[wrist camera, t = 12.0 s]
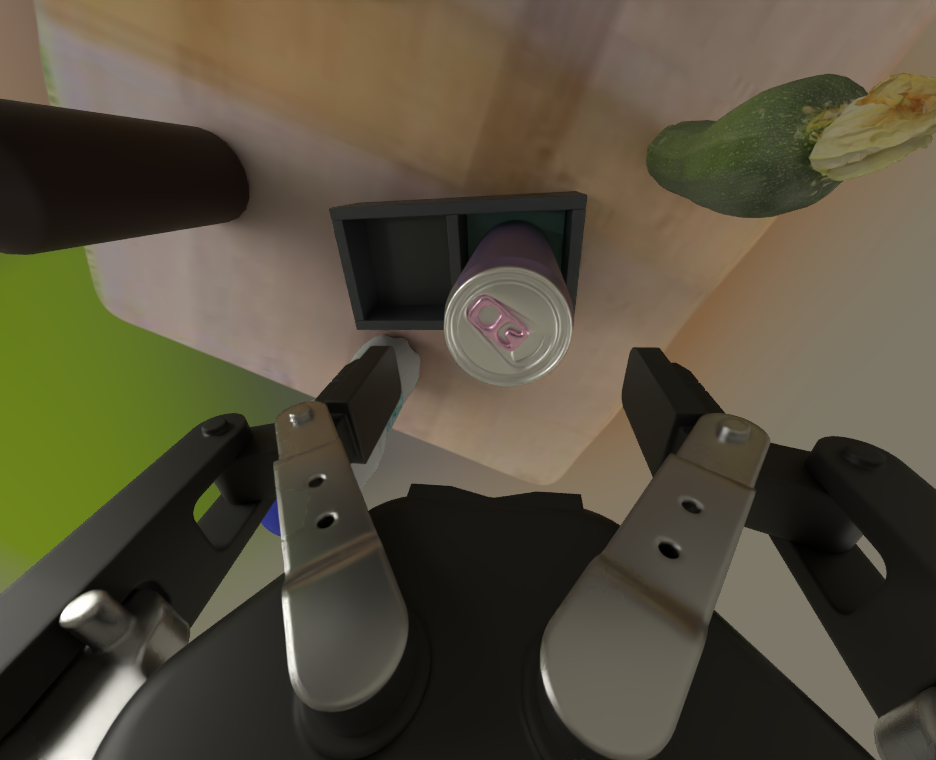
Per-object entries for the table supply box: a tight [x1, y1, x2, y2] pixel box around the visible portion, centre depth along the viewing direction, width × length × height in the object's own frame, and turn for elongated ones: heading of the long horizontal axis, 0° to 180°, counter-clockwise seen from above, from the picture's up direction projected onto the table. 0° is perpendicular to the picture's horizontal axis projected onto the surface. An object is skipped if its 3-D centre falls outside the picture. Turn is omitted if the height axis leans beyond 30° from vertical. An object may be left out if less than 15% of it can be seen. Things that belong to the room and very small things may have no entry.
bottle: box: [261, 334, 420, 536], centre depth 27 cm, size 7×7×20 cm
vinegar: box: [0, 99, 249, 255], centre depth 20 cm, size 7×7×20 cm
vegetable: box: [646, 73, 936, 218], centre depth 16 cm, size 4×4×20 cm
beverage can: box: [444, 220, 574, 387], centre depth 21 cm, size 6×6×15 cm
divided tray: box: [329, 191, 587, 330], centre depth 27 cm, size 9×17×5 cm, turn 93°
